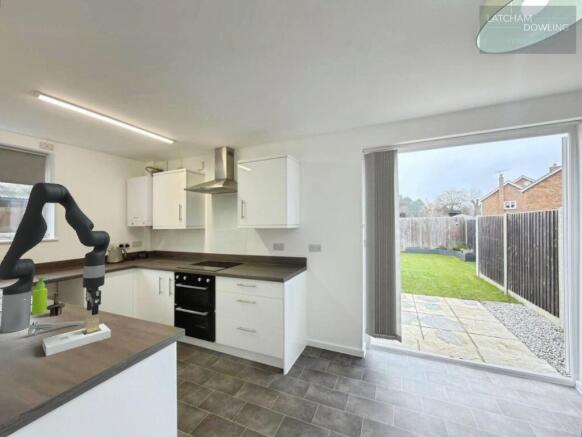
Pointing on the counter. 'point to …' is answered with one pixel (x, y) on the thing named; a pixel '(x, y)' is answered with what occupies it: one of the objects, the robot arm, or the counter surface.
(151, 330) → the counter surface
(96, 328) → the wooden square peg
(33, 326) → the caliper
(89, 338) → the white peg hole board
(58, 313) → the industrial component
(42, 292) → the soap dispenser
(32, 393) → the counter surface
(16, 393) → the counter surface
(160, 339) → the counter surface
